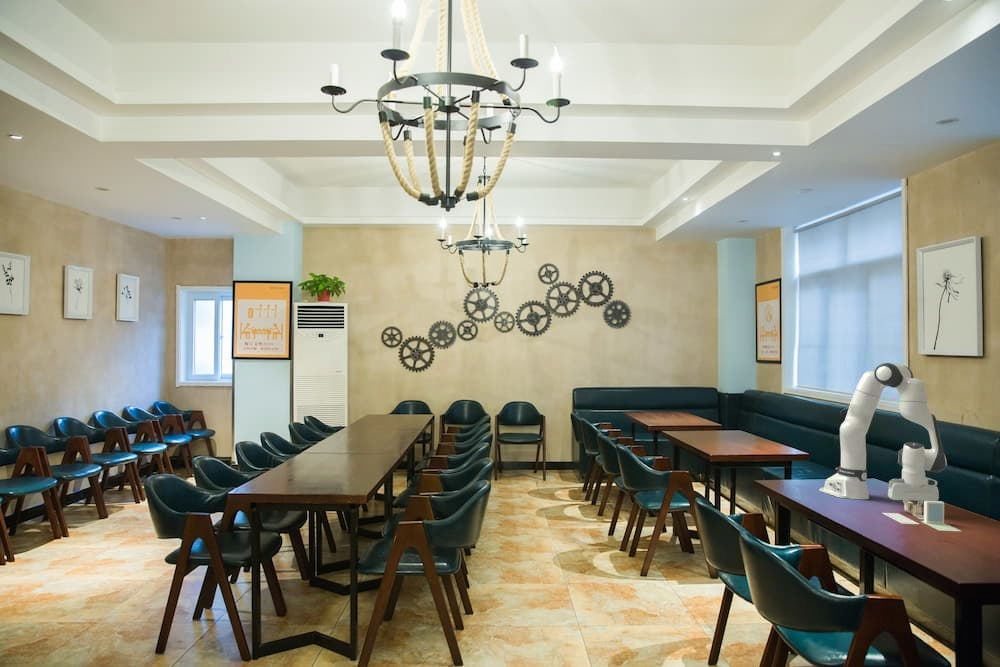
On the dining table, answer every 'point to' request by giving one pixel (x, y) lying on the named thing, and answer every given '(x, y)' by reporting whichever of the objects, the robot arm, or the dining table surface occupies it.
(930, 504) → the tile
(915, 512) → the turner
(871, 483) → the dining table surface
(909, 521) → the pad
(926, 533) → the dining table surface
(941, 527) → the mat
